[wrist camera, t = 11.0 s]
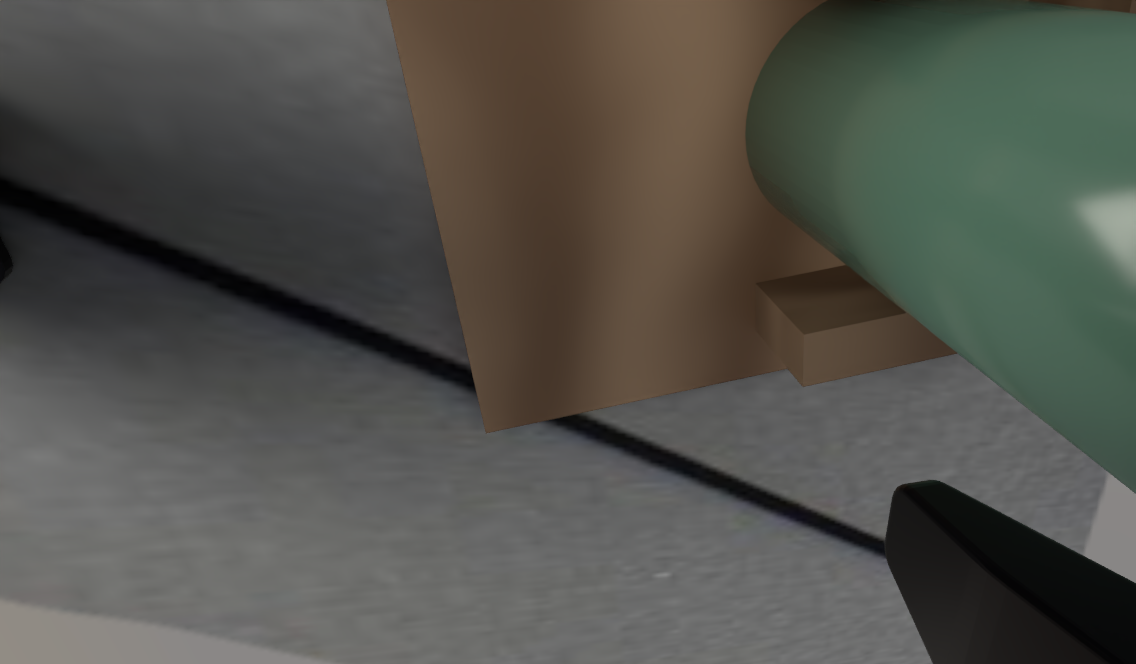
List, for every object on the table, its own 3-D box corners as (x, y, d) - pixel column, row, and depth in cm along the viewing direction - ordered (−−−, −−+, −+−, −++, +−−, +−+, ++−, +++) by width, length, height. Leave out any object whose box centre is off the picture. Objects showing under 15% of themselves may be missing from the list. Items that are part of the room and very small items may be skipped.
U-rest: (483, 417, 22) (495, 503, 19) (355, -144, 16) (339, -160, 12) (1038, 299, 24) (1137, 360, 21) (1142, -257, 17) (1317, -299, 14)
